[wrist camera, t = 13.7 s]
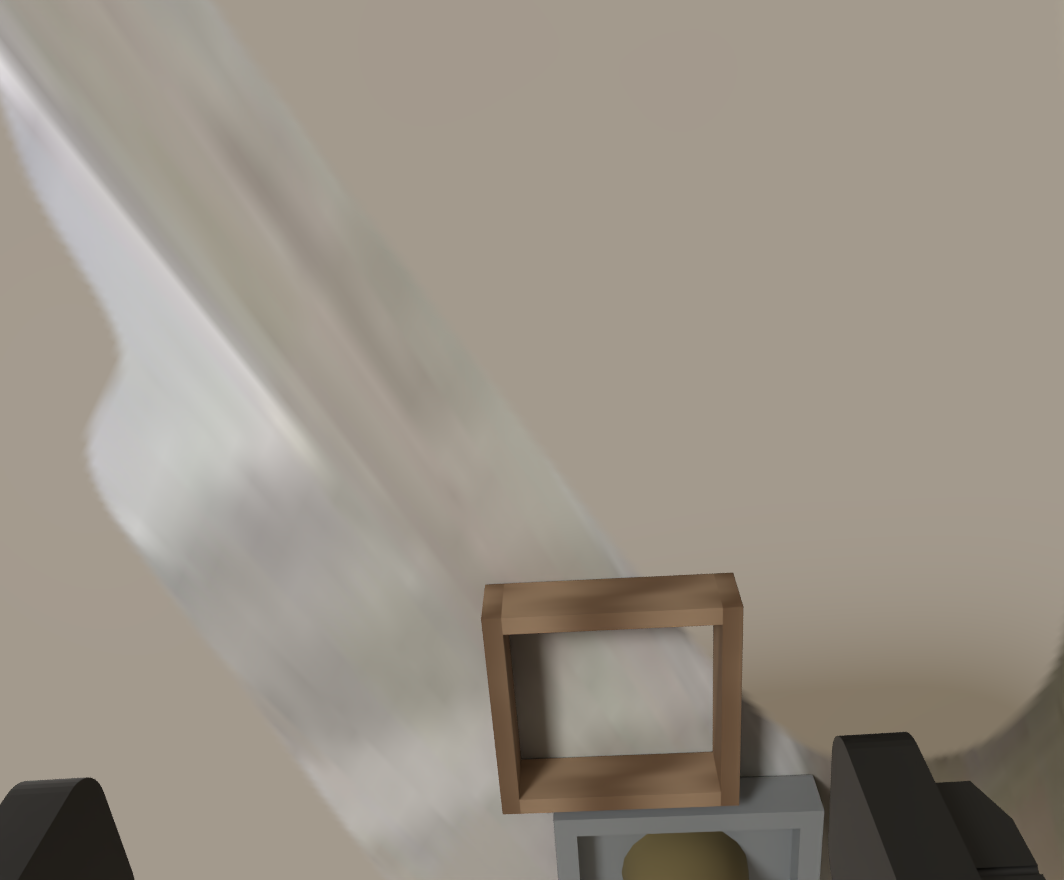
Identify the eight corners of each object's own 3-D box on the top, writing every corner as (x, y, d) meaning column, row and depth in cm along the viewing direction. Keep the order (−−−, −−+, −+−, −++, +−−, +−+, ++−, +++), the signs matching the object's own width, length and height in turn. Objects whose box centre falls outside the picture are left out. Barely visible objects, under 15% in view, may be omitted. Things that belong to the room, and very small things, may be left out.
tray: (812, 774, 46) (824, 810, 44) (803, 926, 50) (813, 965, 48) (553, 784, 46) (553, 820, 44) (565, 933, 51) (566, 973, 49)
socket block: (732, 572, 41) (743, 606, 39) (730, 764, 46) (739, 805, 43) (485, 584, 42) (481, 619, 40) (505, 773, 46) (502, 814, 44)
